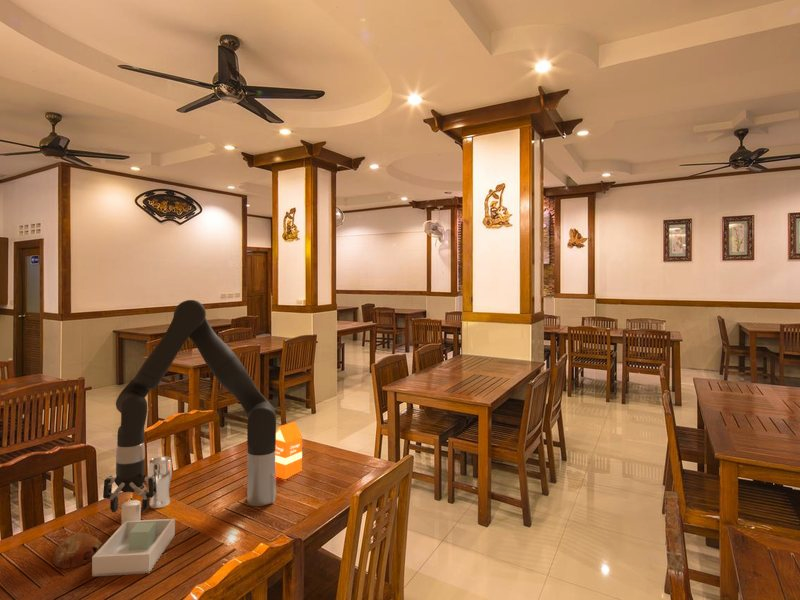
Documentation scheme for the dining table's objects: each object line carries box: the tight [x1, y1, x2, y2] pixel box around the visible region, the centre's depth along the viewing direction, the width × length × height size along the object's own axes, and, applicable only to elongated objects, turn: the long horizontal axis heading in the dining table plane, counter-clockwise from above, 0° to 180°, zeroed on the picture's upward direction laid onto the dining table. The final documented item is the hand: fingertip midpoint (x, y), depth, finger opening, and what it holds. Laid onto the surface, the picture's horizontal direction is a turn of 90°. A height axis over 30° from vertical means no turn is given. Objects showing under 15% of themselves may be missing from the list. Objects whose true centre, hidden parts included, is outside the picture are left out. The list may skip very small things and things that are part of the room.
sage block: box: [129, 522, 156, 551], centre depth 127 cm, size 5×5×5 cm
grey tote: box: [91, 518, 176, 577], centre depth 124 cm, size 14×18×5 cm
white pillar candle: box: [120, 499, 142, 526], centre depth 138 cm, size 5×5×7 cm
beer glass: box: [147, 455, 173, 509], centre depth 152 cm, size 7×7×15 cm
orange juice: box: [275, 421, 303, 480], centre depth 177 cm, size 8×9×20 cm
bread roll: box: [52, 532, 103, 569], centre depth 122 cm, size 10×10×8 cm
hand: (129, 510), depth 138 cm, fingers open, 8 cm apart
